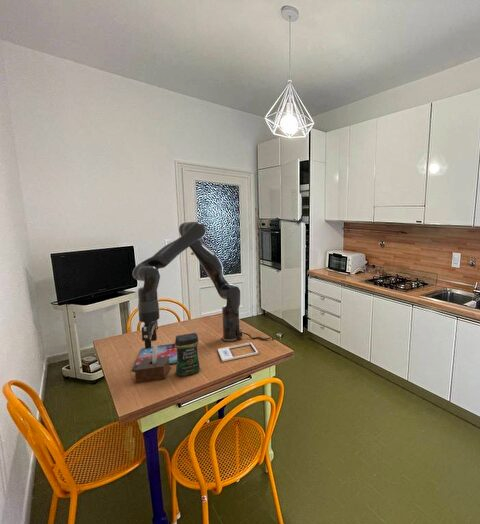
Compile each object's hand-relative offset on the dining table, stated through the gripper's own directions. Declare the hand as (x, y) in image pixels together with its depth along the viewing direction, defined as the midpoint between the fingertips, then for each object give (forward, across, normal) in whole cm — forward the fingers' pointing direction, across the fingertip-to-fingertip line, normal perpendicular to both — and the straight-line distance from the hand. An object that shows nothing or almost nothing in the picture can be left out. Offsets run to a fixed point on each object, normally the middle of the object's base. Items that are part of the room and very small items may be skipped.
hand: (151, 344), depth 132 cm
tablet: (+15, +20, +2) cm, 25 cm away
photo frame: (+15, +13, -36) cm, 41 cm away
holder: (+15, 0, 0) cm, 15 cm away
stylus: (+15, 0, 0) cm, 15 cm away
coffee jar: (+15, -2, -15) cm, 21 cm away
